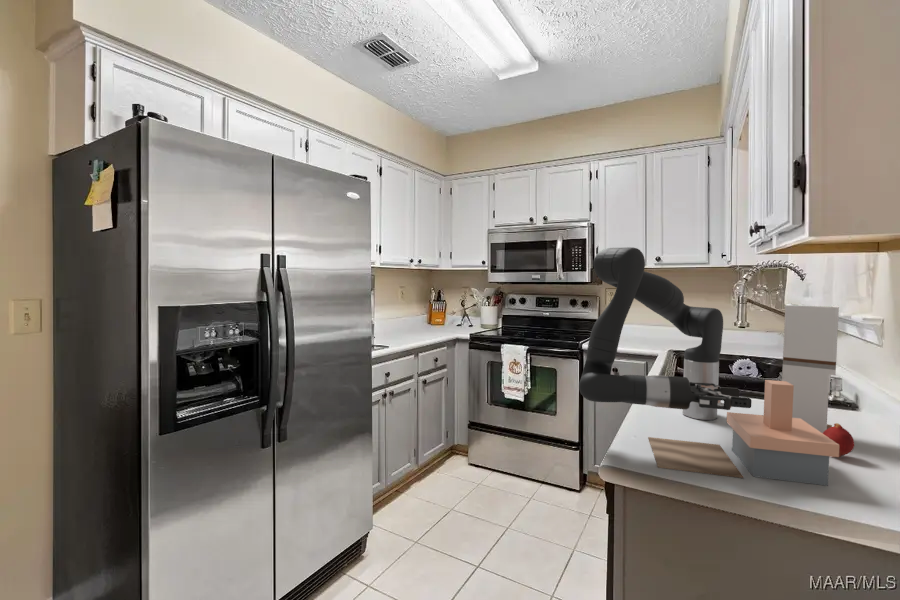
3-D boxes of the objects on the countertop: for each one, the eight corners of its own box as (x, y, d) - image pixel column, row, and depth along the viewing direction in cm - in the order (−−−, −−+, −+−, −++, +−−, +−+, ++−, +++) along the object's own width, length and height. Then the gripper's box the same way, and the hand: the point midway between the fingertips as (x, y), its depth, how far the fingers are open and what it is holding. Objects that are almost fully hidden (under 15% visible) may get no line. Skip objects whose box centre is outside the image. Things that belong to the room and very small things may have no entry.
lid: (726, 422, 108) (728, 372, 107) (800, 428, 103) (802, 376, 103) (750, 447, 92) (752, 389, 91) (838, 457, 87) (841, 395, 86)
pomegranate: (834, 450, 107) (836, 418, 106) (860, 460, 101) (862, 426, 100) (814, 452, 106) (816, 419, 105) (839, 462, 100) (840, 428, 100)
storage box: (732, 449, 107) (733, 417, 107) (795, 456, 103) (796, 423, 102) (753, 476, 93) (754, 439, 92) (827, 485, 89) (829, 447, 88)
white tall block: (832, 444, 111) (838, 307, 109) (779, 434, 118) (785, 305, 116) (831, 432, 119) (837, 305, 117) (782, 423, 126) (787, 303, 124)
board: (648, 438, 114) (648, 436, 114) (719, 446, 109) (719, 444, 109) (657, 467, 97) (658, 465, 97) (743, 478, 92) (743, 476, 92)
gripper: (671, 383, 97) (756, 389, 92) (662, 370, 111) (735, 374, 106) (670, 416, 98) (754, 424, 93) (661, 399, 111) (734, 405, 106)
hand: (744, 397), depth 99 cm, fingers open, 8 cm apart
